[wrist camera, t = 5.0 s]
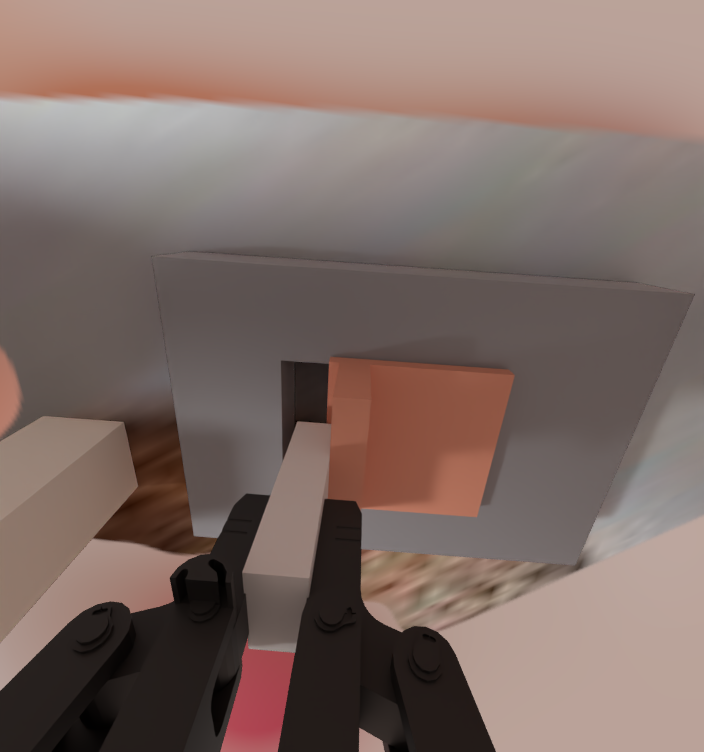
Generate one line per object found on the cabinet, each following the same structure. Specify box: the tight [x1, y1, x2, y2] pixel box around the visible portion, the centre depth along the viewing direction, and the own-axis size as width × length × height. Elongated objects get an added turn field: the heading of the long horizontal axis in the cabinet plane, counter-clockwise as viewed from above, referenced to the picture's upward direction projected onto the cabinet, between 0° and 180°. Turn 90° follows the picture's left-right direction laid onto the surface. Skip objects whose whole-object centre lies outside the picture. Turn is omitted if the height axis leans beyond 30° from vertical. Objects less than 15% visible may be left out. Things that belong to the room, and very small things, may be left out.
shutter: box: [327, 357, 515, 517], centre depth 14 cm, size 7×7×4 cm
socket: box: [151, 251, 695, 565], centre depth 17 cm, size 20×14×3 cm
